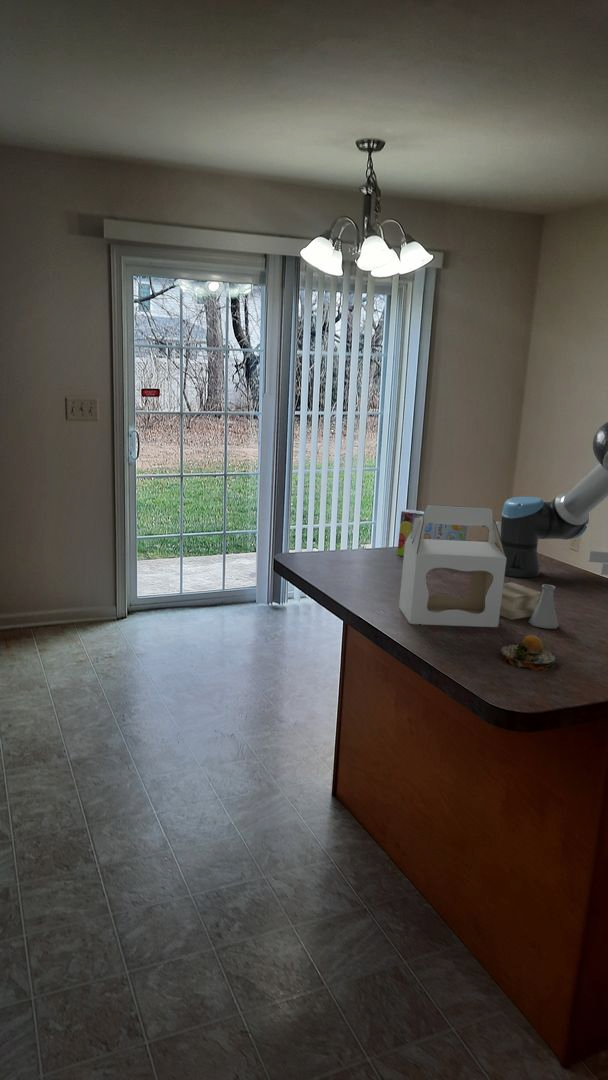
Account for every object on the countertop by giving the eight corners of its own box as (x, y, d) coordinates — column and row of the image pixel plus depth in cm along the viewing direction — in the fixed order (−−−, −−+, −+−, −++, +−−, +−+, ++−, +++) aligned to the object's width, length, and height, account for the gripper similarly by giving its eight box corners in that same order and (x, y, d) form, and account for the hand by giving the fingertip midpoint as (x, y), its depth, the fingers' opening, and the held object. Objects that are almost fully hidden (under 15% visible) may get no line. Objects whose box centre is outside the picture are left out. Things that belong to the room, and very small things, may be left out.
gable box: (482, 611, 200) (495, 504, 194) (499, 627, 187) (513, 513, 181) (397, 607, 198) (408, 499, 192) (408, 624, 185) (420, 509, 179)
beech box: (509, 603, 207) (512, 582, 206) (539, 615, 199) (542, 593, 198) (481, 607, 202) (484, 585, 201) (511, 619, 193) (513, 596, 192)
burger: (545, 652, 172) (549, 620, 171) (564, 673, 161) (569, 638, 159) (491, 649, 172) (495, 617, 170) (507, 670, 160) (511, 635, 159)
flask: (560, 631, 187) (566, 591, 185) (529, 627, 189) (534, 588, 186) (556, 622, 194) (562, 584, 192) (527, 618, 196) (532, 580, 193)
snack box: (463, 562, 252) (468, 516, 249) (459, 565, 247) (464, 519, 244) (401, 552, 260) (405, 508, 257) (396, 555, 255) (400, 510, 252)
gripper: (704, 599, 172) (604, 590, 175) (669, 573, 196) (582, 565, 199) (709, 567, 170) (609, 558, 173) (674, 544, 195) (586, 537, 197)
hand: (595, 562), depth 186 cm, fingers open, 13 cm apart
